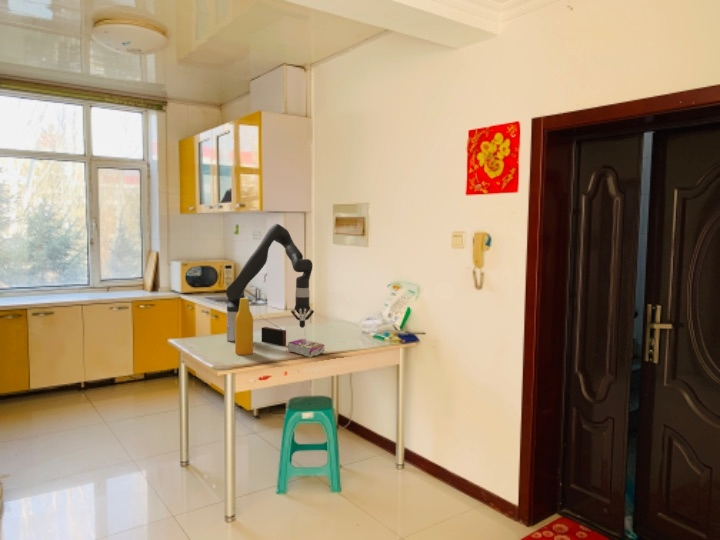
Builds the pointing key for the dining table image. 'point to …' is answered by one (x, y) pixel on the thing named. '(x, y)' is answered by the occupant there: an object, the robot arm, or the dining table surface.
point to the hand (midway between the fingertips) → (302, 327)
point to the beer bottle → (244, 329)
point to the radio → (274, 335)
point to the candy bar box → (306, 347)
